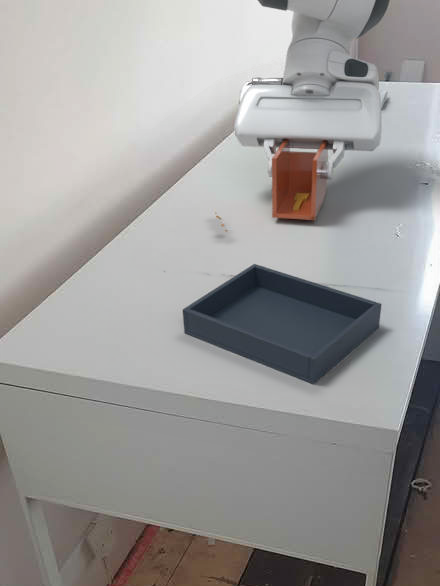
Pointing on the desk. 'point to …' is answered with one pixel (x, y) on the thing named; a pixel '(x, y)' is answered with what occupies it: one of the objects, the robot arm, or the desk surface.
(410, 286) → the desk surface
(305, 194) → the key
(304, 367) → the tray
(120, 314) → the desk surface
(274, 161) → the orange open trough
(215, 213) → the orange stick
